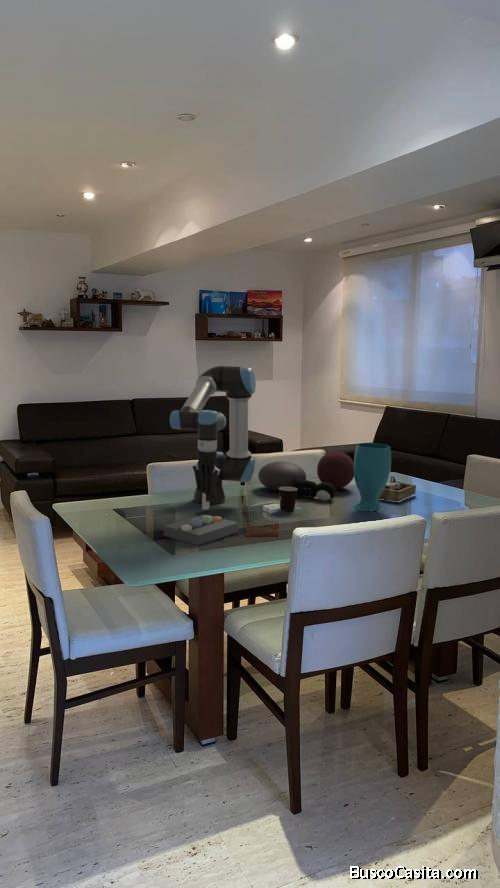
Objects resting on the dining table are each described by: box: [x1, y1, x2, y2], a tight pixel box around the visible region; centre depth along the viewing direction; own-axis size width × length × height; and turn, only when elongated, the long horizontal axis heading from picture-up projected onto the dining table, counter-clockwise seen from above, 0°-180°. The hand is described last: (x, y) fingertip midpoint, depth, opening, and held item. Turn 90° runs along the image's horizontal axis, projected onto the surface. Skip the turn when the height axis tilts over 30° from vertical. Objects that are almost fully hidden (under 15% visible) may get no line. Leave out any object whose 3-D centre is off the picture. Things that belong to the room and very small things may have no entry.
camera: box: [384, 474, 402, 491], centre depth 344 cm, size 15×8×10 cm, turn 143°
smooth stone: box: [257, 460, 307, 492], centre depth 347 cm, size 25×25×15 cm
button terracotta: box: [212, 515, 222, 522], centre depth 272 cm, size 4×4×4 cm
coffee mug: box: [278, 487, 298, 512], centre depth 309 cm, size 12×9×10 cm
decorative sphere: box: [316, 450, 355, 490], centre depth 355 cm, size 20×20×20 cm
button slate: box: [192, 517, 202, 528], centre depth 262 cm, size 4×4×4 cm
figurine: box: [294, 479, 336, 502], centre depth 332 cm, size 9×9×20 cm
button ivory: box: [181, 525, 192, 531], centre depth 258 cm, size 4×4×4 cm
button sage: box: [202, 514, 213, 525], centre depth 267 cm, size 4×4×4 cm
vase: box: [352, 442, 392, 512], centre depth 315 cm, size 17×17×30 cm
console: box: [163, 513, 239, 546], centre depth 265 cm, size 18×24×4 cm
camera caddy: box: [379, 482, 417, 501], centre depth 341 cm, size 14×21×6 cm, turn 144°
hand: (205, 508), depth 266 cm, fingers closed
